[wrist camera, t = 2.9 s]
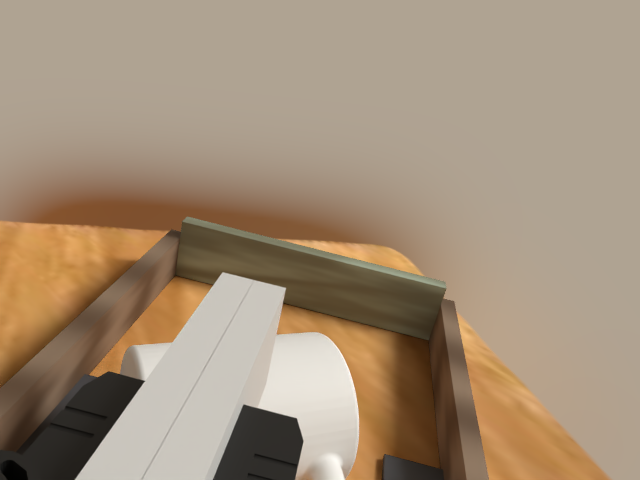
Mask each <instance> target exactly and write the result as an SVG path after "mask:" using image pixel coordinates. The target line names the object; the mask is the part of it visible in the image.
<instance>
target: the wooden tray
mask: <svg viewBox="0 0 640 480" xmlns="http://www.w3.org/2000/svg"><path fill="white" fill-rule="evenodd" d="M222 272H224V273H228V274H232V275H236V276H240V277H244V278H248V279H252V280H256V281H260V282H264V283H268V284H272V285H276V286H280V287H284V288H286V290H285V295H284V300H283V303H286V304H289V305H293V306H297V307H301V308H305V309H309V310H313V311H317V312H321V313H324V314H328V315H332V316H336V317H340V318H344V319H348V320H352V321H355V322H359V323H363V324H367V325H371V326H375V327H379V328H383V329H386V330H390V331H394V332H398V333H402V334H406V335H410V336H414V337H418V338H421V339H425V340H429V351H430V362H431V372H432V383H433V394H434V405H435V416H436V426H437V437H438V448H439V459H440V469H439V468H435V467H431V466H427V465H424V464H420V463H416V462H412V461H409V460H405V459H401V458H397V457H394V456H390V455H386V454H385V455H384V458H383V472H382V480H489V477H488V472H487V467H486V462H485V457H484V452H483V446H482V441H481V436H480V431H479V426H478V421H477V416H476V411H475V406H474V400H473V395H472V390H471V385H470V380H469V375H468V370H467V365H466V360H465V355H464V349H463V344H462V339H461V334H460V329H459V324H458V319H457V314H456V309H455V304H454V301H451V300H447V299H443V297H444V294H445V291H446V283H445V282H444V281H440V280H436V279H432V278H428V277H424V276H420V275H416V274H412V273H408V272H404V271H400V270H396V269H392V268H388V267H384V266H380V265H376V264H372V263H368V262H365V261H361V260H357V259H353V258H349V257H345V256H341V255H337V254H333V253H329V252H325V251H321V250H317V249H313V248H309V247H305V246H301V245H297V244H293V243H289V242H285V241H282V240H278V239H274V238H270V237H266V236H262V235H258V234H253V233H250V232H246V231H242V230H238V229H234V228H230V227H226V226H222V225H218V224H214V223H210V222H206V221H202V220H199V219H194V218H190V217H187V218H186V219H184V220H183V221H182V228H181V232H180V231H176V230H171V231H169V232H168V233H167V234H166V235H165V236H164V237H163V238H162V239H161V240H160V241H159V242H158V243H157V244H155V245H154V246H153V247H152V248H151V249H150V250H149V251H148V252H147V253H146V254H145V255H144V256H142V257H141V258H140V259H139V260H138V261H137V262H136V263H135V264H134V265H133V266H132V267H131V268H130V269H128V270H127V271H126V272H125V273H124V274H123V275H122V276H121V277H120V278H119V279H118V280H117V281H115V282H114V283H113V284H112V285H111V286H110V287H109V288H108V289H107V290H106V291H105V292H104V293H103V294H101V295H100V296H99V297H98V298H97V299H96V300H95V301H94V302H93V303H92V304H91V305H90V306H88V307H87V308H86V309H85V310H84V311H83V312H82V313H81V314H80V315H79V316H78V317H77V318H76V319H74V320H73V321H72V322H71V323H70V324H69V325H68V326H67V327H66V328H65V329H64V330H63V331H61V332H60V333H59V334H58V335H57V336H56V337H55V338H54V339H53V340H52V341H51V342H50V343H49V344H47V345H46V346H45V347H44V348H43V349H42V350H41V351H40V352H39V353H38V354H37V355H36V356H34V357H33V358H32V359H31V360H30V361H29V362H28V363H27V364H26V365H25V366H24V367H23V368H22V369H20V370H19V371H18V372H17V373H16V374H15V375H14V376H13V377H12V378H11V379H10V380H9V381H7V382H6V383H5V384H4V385H3V386H2V387H1V388H0V450H7V451H14V452H16V453H18V454H20V455H23V454H24V452H25V451H26V450H27V449H28V448H29V447H30V446H31V444H32V443H33V442H34V441H35V440H36V439H37V438H38V436H39V435H40V434H41V433H42V432H43V431H44V430H45V428H46V427H49V426H50V423H51V422H52V420H53V419H54V418H55V417H56V416H57V415H58V414H59V413H60V411H61V410H64V409H65V406H66V405H67V403H68V402H69V401H70V400H71V399H72V398H73V397H74V395H75V394H76V393H77V392H78V391H79V390H80V389H81V387H82V386H83V385H85V384H87V383H89V382H91V381H92V380H94V379H96V378H98V377H94V376H90V375H89V374H90V373H91V371H92V370H93V369H94V368H95V367H96V366H97V365H98V363H99V362H100V361H101V360H102V359H103V358H104V357H105V355H106V354H107V353H108V352H109V351H110V350H111V348H112V347H113V346H114V345H115V344H116V343H117V342H118V340H119V339H120V338H121V337H122V336H123V335H124V334H125V332H126V331H127V330H128V329H129V328H130V327H131V326H132V324H133V323H134V322H135V321H136V320H137V319H138V318H139V316H140V315H141V314H142V313H143V312H144V311H145V310H146V308H147V307H148V306H149V305H150V304H151V303H152V301H153V300H154V299H155V298H156V297H157V296H158V295H159V293H160V292H161V291H162V290H163V289H164V288H165V287H166V285H167V284H168V283H169V282H170V281H171V280H172V279H173V277H174V276H175V275H177V276H181V277H185V278H189V279H192V280H196V281H200V282H204V283H208V284H212V285H214V284H215V282H216V281H217V279H218V278H219V277H220V275H221V274H222Z"/></svg>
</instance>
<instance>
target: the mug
mask: <svg viewBox="0 0 640 480" xmlns="http://www.w3.org/2000/svg"><path fill="white" fill-rule="evenodd" d="M171 344H172V343H160V344H146V345H134V346H131V347H129V348H128V349H127V350H126V352H125V354H124V357H123V361H122V365H121V372H120V374H121V375H125V376H129V377H132V378H136V379H140V380H144V381H146V379H147V378H148V376H149V375H150V374H151V372H152V371H153V369H154V368H155V367H156V365H157V364H158V362H159V361H160V359H161V358H162V357H163V355H164V354H165V352H166V351H167V350H168V348H169V347H170V345H171ZM258 408H259V409H263V410H267V411H271V412H275V413H279V414H282V415H286V416H290V417H294V418H297V420H298V424H299V427H300V430H301V434H302V437H303V441H304V442H303V446H302V451H301V455H300V460H299V464H298V468H297V473H296V478H295V480H345V479H346V477H347V476H348V475H349V473H350V471H351V469H352V467H353V464H354V461H355V457H356V453H357V448H358V440H359V413H358V404H357V398H356V393H355V388H354V384H353V380H352V377H351V374H350V371H349V368H348V366H347V364H346V362H345V359H344V357H343V356H342V354H341V352H340V351H339V349H338V348H337V346H336V345H335V344H334V343H333V342H332V341H331V340H330V339H329V338H328V337H327V336H325V335H323V334H321V333H317V332H308V333H295V334H281V335H276V338H275V343H274V348H273V353H272V358H271V363H270V367H269V372H268V377H267V382H266V386H265V388H264V391H263V394H262V397H261V399H260V402H259V405H258Z"/></svg>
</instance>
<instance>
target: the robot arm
mask: <svg viewBox="0 0 640 480" xmlns="http://www.w3.org/2000/svg"><path fill="white" fill-rule="evenodd" d="M285 290H286V288H284V287H280V286H276V285H272V284H268V283H264V282H260V281H256V280H252V279H248V278H244V277H240V276H236V275H232V274H228V273H224V272H222V274H221V275H220V277H219V278H218V279H217V281H216V282H215V284H214V285H213V286H212V288H211V289H210V291H209V292H208V293H207V295H206V296H205V298H204V299H203V301H202V302H201V303H200V305H199V306H198V308H197V309H196V310H195V312H194V313H193V315H192V316H191V317H190V319H189V320H188V322H187V323H186V324H185V326H184V327H183V329H182V330H181V331H180V333H179V334H178V336H177V337H176V338H175V340H174V341H173V343H172V344H171V345H170V347H169V348H168V350H167V351H166V352H165V354H164V355H163V357H162V358H161V359H160V361H159V362H158V364H157V365H156V367H155V368H154V369H153V371H152V372H151V374H150V375H149V376H148V378H147V379H146V381H144V380H140V379H136V378H132V377H129V376H125V375H121V374H117V373H113V372H107V373H105V374H103V375H101V376H100V377H98V378H96V379H94V380H92V381H91V382H89V383H87V384H85V385H83V386H82V387H81V389H80V390H79V391H78V392H77V393H76V394H75V395H74V397H73V398H72V399H71V400H70V401H69V402H68V403H67V405H66V406H65V409H64V410H61V411H60V413H59V414H58V415H57V416H56V417H55V418H54V419H53V420H52V422H51V423H50V426H49V427H46V428H45V430H44V431H43V432H42V433H41V434H40V435H39V436H38V438H37V439H36V440H35V441H34V442H33V443H32V444H31V446H30V447H29V448H28V449H27V450H26V451H25V452H24V454H23V455H20V454H18V453H16V452H14V451H7V450H0V480H295V478H296V473H297V468H298V464H299V460H300V455H301V451H302V446H303V442H304V441H303V437H302V434H301V430H300V427H299V424H298V420H297V418H294V417H290V416H286V415H282V414H279V413H275V412H271V411H267V410H263V409H259V408H258V405H259V402H260V399H261V397H262V394H263V391H264V388H265V386H266V382H267V377H268V372H269V367H270V363H271V358H272V353H273V348H274V343H275V338H276V334H277V329H278V324H279V319H280V314H281V310H282V305H283V300H284V295H285Z"/></svg>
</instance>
